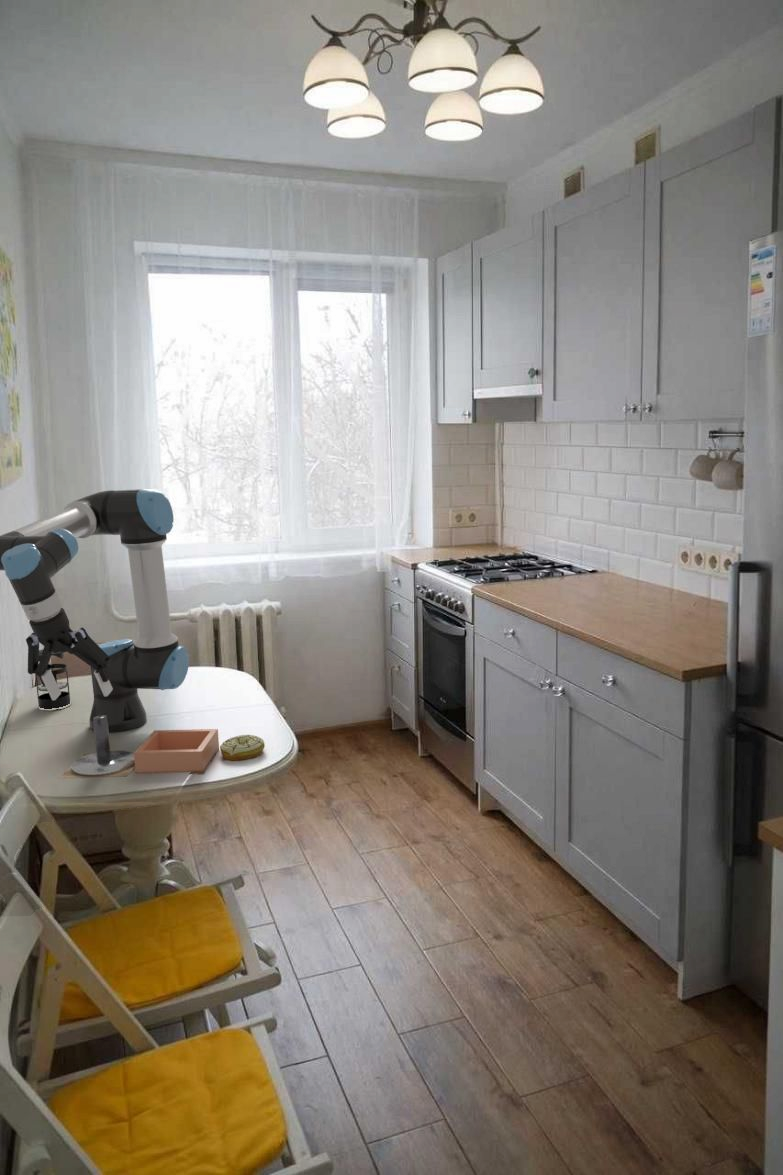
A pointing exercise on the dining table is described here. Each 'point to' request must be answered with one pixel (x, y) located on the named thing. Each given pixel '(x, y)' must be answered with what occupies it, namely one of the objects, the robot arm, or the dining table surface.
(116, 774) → the trivet
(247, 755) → the decorated donut
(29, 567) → the robot arm
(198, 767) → the terracotta square tray
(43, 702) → the french press
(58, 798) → the dining table surface
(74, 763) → the lid
